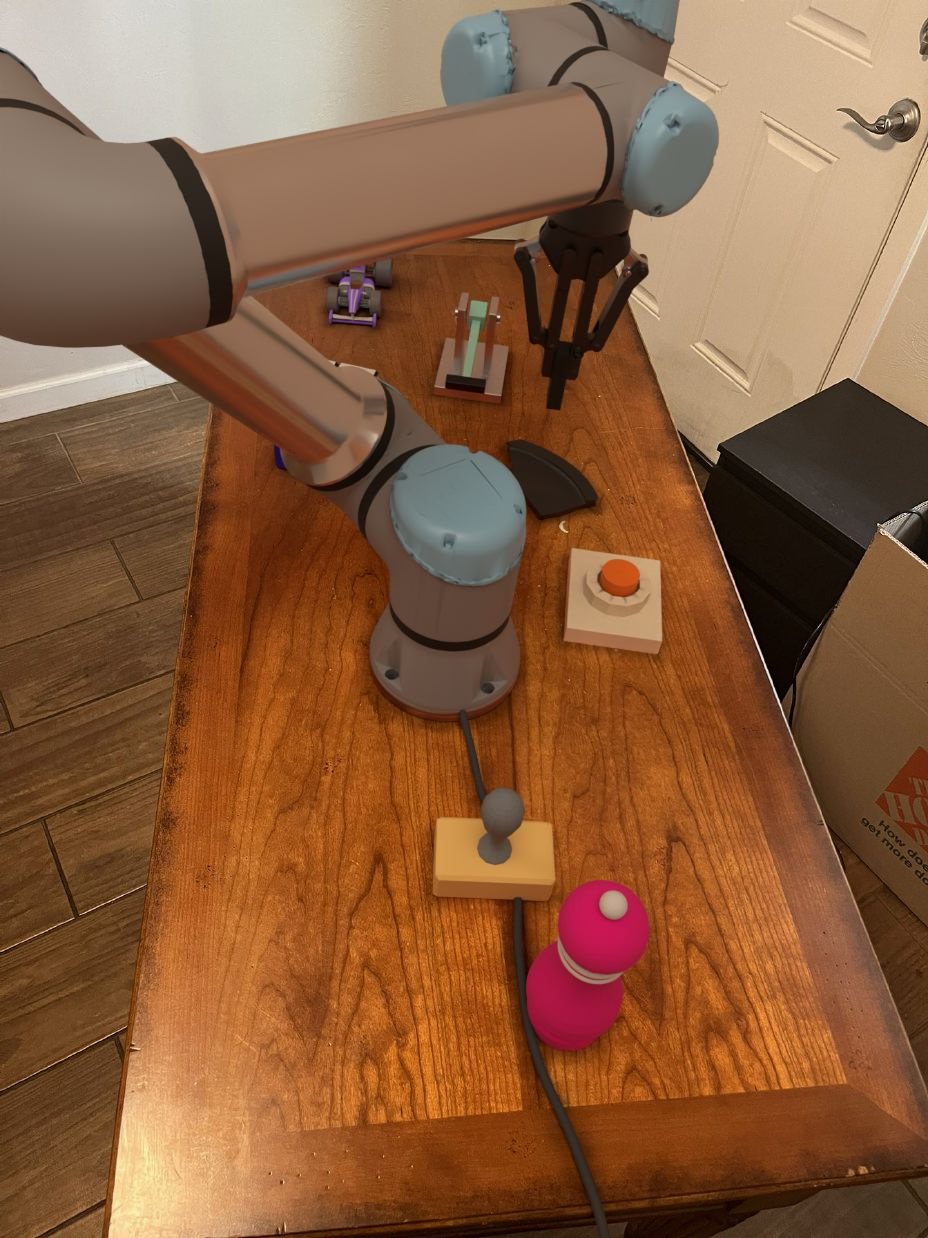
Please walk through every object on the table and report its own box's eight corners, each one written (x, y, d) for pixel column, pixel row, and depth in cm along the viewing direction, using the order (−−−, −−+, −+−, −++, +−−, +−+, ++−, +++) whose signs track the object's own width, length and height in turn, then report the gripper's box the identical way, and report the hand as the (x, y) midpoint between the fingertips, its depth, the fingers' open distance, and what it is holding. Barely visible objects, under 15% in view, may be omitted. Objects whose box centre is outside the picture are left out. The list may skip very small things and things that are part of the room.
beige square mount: (657, 654, 99) (666, 629, 96) (563, 641, 99) (569, 616, 96) (655, 573, 107) (664, 548, 104) (568, 561, 107) (574, 536, 104)
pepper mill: (604, 964, 77) (662, 846, 62) (616, 1058, 72) (683, 956, 57) (516, 964, 76) (553, 846, 61) (522, 1059, 71) (565, 956, 56)
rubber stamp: (432, 898, 79) (440, 828, 70) (434, 836, 83) (442, 762, 74) (549, 903, 80) (572, 834, 71) (546, 841, 83) (567, 768, 74)
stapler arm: (484, 397, 118) (485, 383, 116) (444, 391, 118) (445, 378, 116) (497, 317, 125) (498, 303, 123) (459, 312, 125) (460, 298, 123)
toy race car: (318, 324, 135) (317, 282, 130) (330, 271, 145) (329, 230, 140) (385, 329, 135) (386, 287, 131) (392, 276, 145) (393, 236, 140)
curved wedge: (549, 440, 121) (551, 430, 120) (599, 508, 114) (601, 497, 112) (490, 453, 119) (492, 442, 118) (538, 522, 111) (539, 512, 110)
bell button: (636, 599, 99) (640, 588, 98) (598, 594, 99) (602, 583, 98) (636, 573, 102) (640, 561, 100) (599, 567, 102) (602, 556, 100)
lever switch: (500, 404, 126) (509, 332, 118) (433, 394, 126) (438, 322, 118) (507, 354, 134) (517, 284, 126) (445, 345, 134) (450, 275, 126)
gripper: (668, 168, 85) (613, 389, 102) (524, 149, 85) (494, 374, 102) (673, 205, 80) (615, 430, 97) (521, 185, 80) (490, 415, 97)
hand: (553, 401), depth 100 cm, fingers closed
